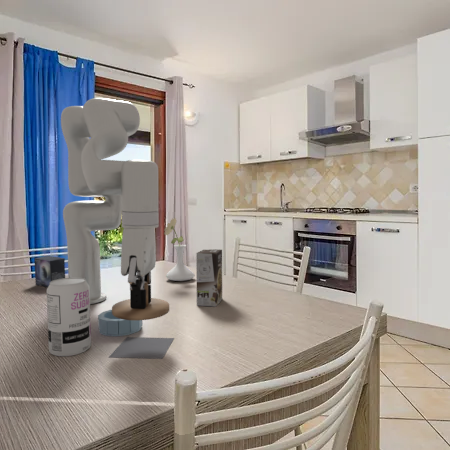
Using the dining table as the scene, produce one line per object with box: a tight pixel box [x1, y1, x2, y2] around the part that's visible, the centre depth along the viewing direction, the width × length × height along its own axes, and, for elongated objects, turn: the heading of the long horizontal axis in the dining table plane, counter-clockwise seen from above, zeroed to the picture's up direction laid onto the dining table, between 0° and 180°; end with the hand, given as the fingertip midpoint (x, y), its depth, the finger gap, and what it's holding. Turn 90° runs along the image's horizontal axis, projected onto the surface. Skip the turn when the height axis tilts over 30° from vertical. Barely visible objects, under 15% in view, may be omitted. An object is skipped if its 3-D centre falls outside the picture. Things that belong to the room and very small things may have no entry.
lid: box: [111, 282, 170, 321], centre depth 80 cm, size 12×12×6 cm
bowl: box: [97, 309, 143, 337], centre depth 91 cm, size 10×10×4 cm
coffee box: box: [195, 249, 223, 307], centre depth 115 cm, size 9×6×16 cm
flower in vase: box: [163, 217, 196, 282], centre depth 147 cm, size 13×11×25 cm
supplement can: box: [46, 277, 92, 357], centre depth 79 cm, size 8×8×15 cm
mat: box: [108, 336, 175, 360], centre depth 80 cm, size 11×11×1 cm
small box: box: [33, 255, 66, 289], centre depth 140 cm, size 11×6×10 cm, turn 56°
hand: (141, 304), depth 80 cm, fingers closed on lid, 3 cm apart
